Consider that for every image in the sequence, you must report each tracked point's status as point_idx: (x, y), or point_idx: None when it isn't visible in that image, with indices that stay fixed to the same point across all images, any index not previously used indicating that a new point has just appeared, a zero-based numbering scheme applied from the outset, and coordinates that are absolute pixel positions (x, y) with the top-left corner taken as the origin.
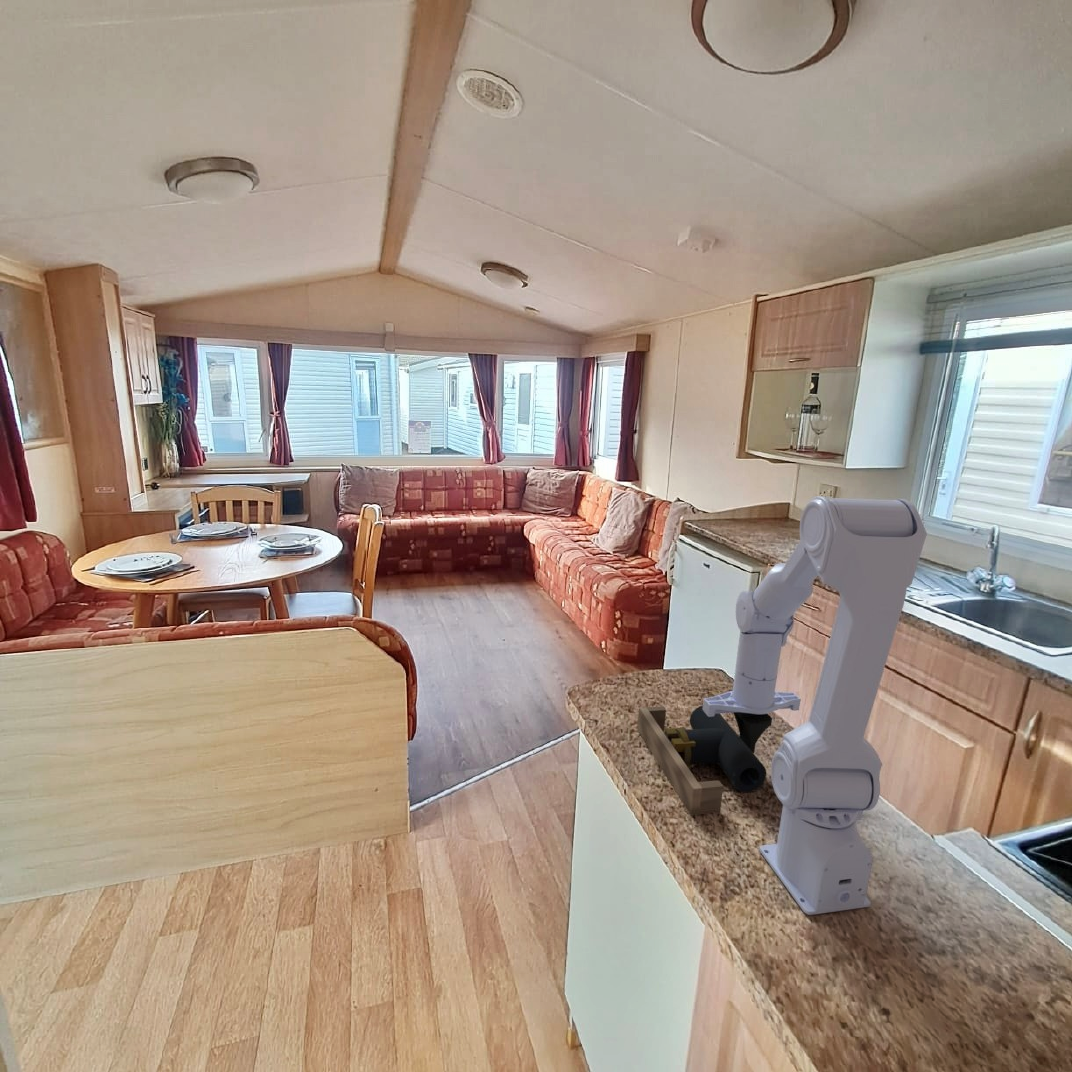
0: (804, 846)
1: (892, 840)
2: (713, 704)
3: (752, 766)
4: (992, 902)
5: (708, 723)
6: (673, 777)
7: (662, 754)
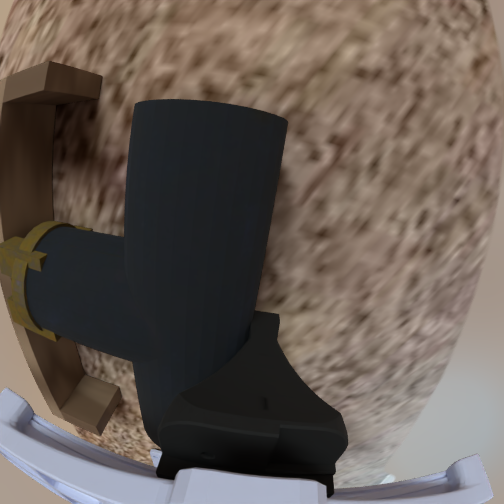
0: None
1: (348, 471)
2: (16, 466)
3: None
4: None
5: (130, 255)
6: None
7: None
